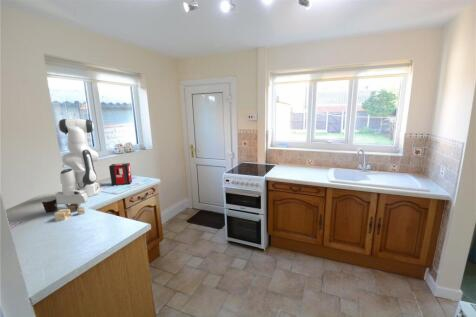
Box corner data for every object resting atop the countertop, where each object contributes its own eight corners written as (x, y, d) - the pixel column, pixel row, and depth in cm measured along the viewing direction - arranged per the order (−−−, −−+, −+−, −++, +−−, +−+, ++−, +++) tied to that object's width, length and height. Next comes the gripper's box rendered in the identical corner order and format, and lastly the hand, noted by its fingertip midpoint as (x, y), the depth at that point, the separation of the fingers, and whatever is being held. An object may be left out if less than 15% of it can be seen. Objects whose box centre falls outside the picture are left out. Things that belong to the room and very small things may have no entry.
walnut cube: (73, 209, 166) (71, 203, 165) (80, 209, 166) (78, 203, 165) (68, 212, 161) (67, 206, 160) (75, 212, 161) (74, 205, 160)
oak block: (62, 216, 153) (60, 209, 152) (71, 215, 153) (69, 209, 152) (55, 220, 147) (54, 213, 146) (65, 219, 147) (63, 213, 146)
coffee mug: (50, 215, 157) (48, 202, 155) (41, 214, 159) (38, 201, 157) (66, 208, 168) (63, 196, 166) (57, 207, 170) (54, 195, 168)
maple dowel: (79, 212, 158) (79, 207, 157) (85, 212, 159) (85, 206, 158) (76, 215, 154) (75, 209, 153) (82, 214, 155) (82, 209, 154)
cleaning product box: (132, 181, 231) (129, 163, 226) (129, 184, 222) (127, 165, 218) (114, 183, 227) (112, 164, 223) (111, 185, 219) (109, 166, 215)
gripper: (52, 193, 157) (56, 211, 160) (82, 192, 158) (85, 210, 161) (58, 190, 163) (62, 207, 166) (87, 189, 164) (90, 206, 167)
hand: (74, 208), depth 163 cm, fingers closed on walnut cube, 5 cm apart
